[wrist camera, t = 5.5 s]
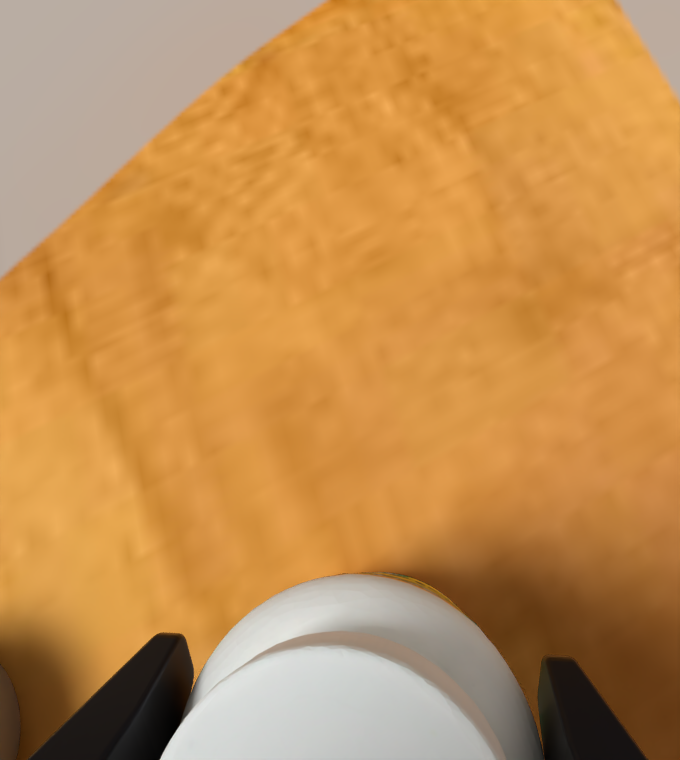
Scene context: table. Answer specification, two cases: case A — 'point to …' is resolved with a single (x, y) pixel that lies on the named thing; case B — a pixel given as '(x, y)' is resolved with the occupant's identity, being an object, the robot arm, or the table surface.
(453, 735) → the supplement bottle
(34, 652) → the table surface
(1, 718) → the gray capsule
